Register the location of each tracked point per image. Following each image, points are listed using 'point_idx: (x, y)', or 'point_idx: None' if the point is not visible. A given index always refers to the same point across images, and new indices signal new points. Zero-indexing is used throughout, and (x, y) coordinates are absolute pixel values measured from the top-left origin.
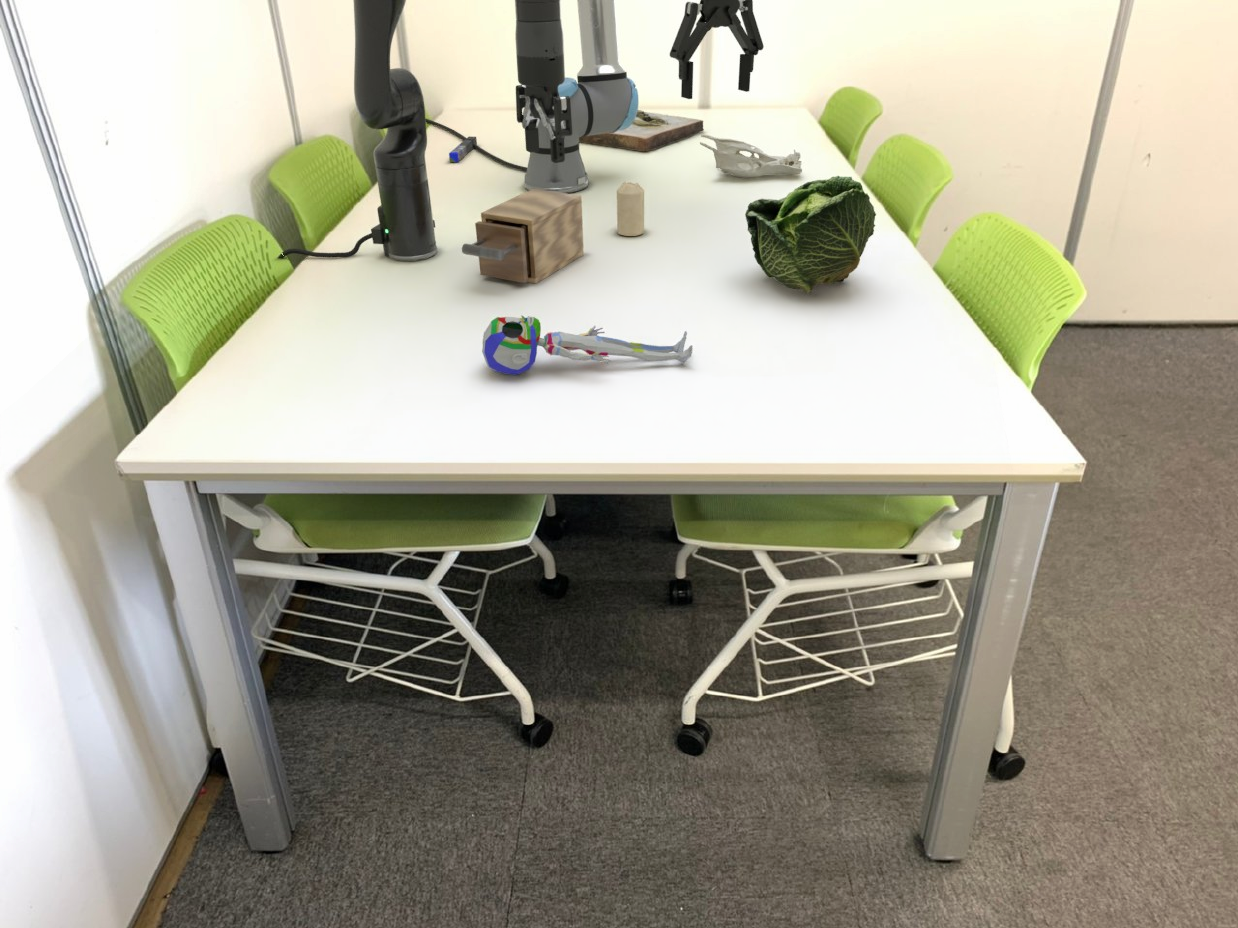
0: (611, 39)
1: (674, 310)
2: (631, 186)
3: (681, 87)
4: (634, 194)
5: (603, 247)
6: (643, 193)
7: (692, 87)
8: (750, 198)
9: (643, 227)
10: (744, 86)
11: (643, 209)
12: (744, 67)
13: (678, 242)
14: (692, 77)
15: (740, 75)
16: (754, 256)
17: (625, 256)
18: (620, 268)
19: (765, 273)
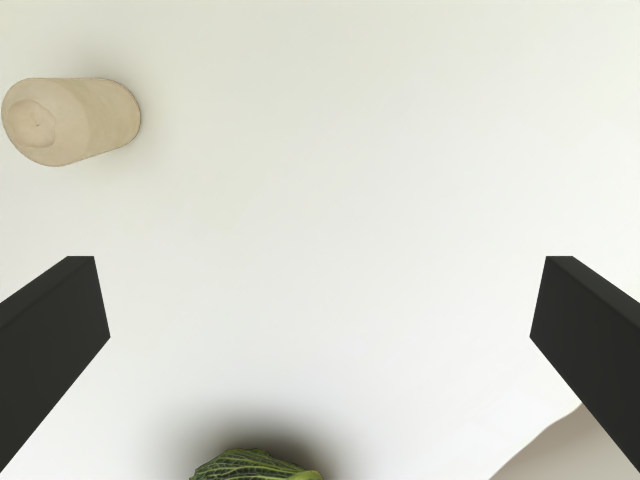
0: None
1: (42, 463)
2: (30, 148)
3: (27, 285)
4: (45, 165)
5: (15, 168)
6: (83, 155)
7: (73, 381)
8: (556, 21)
9: (127, 141)
10: (549, 334)
11: (106, 148)
12: (637, 415)
13: (184, 227)
14: (26, 436)
15: (601, 324)
16: (196, 469)
17: (44, 242)
18: (14, 292)
19: (219, 455)
